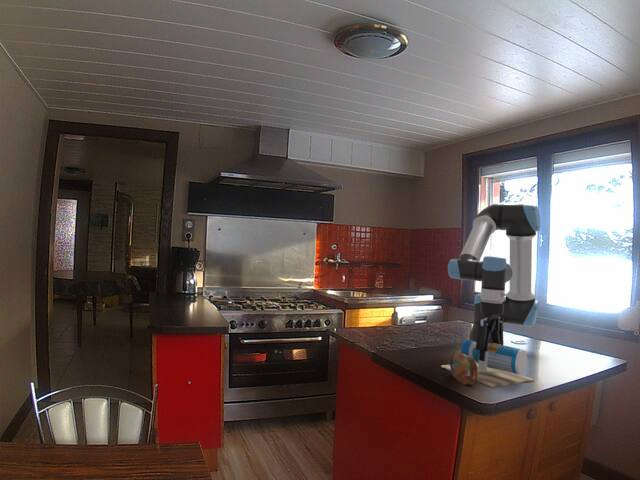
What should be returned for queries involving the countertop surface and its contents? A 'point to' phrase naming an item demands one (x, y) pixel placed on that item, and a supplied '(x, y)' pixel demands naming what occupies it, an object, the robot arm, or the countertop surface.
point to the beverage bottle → (499, 356)
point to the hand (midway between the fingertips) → (488, 368)
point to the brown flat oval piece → (463, 368)
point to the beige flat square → (497, 377)
